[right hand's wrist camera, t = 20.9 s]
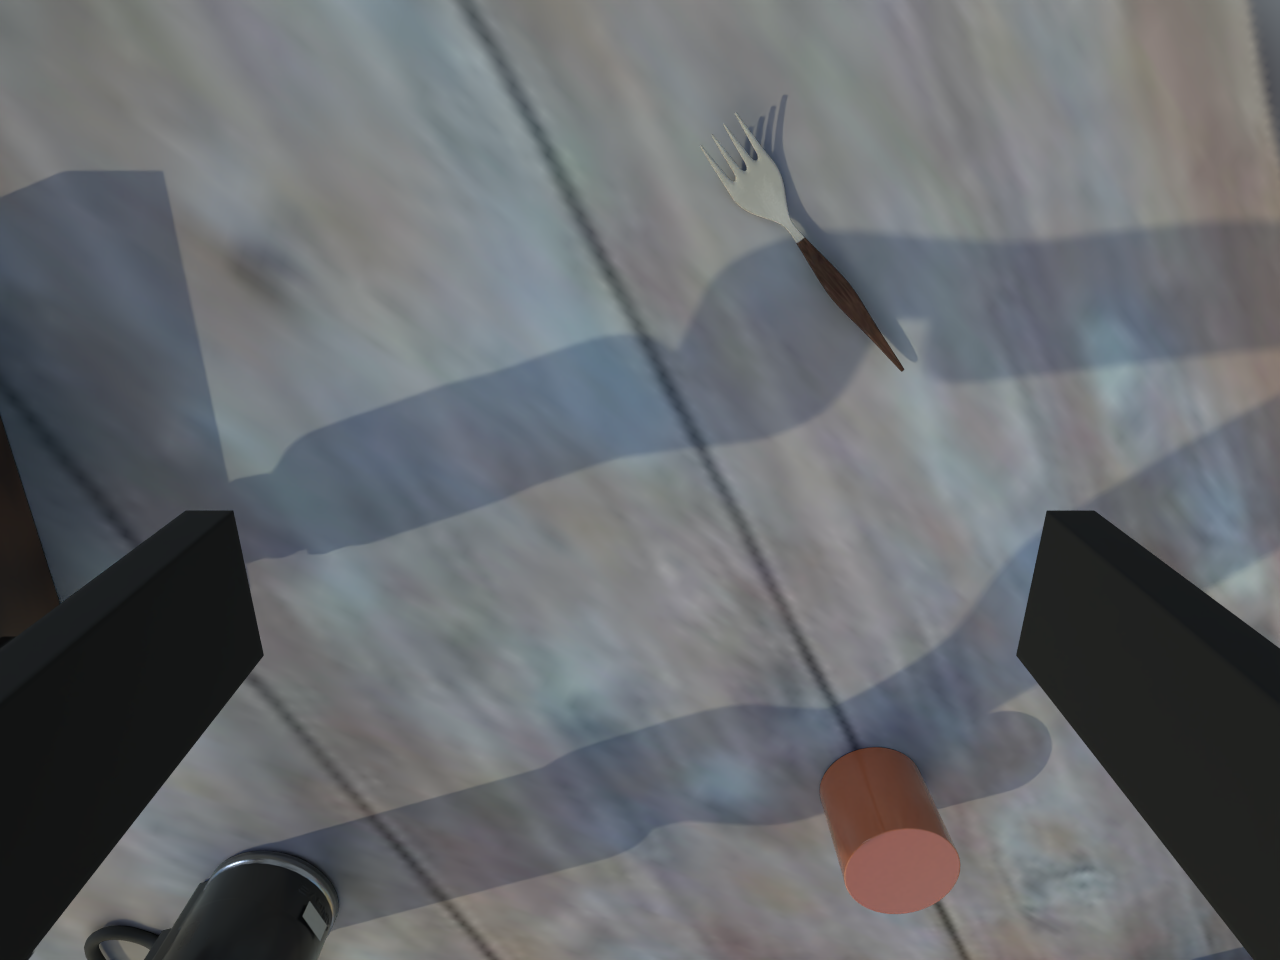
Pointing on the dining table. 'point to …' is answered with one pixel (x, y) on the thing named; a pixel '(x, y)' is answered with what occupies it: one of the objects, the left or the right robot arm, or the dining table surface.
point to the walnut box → (20, 554)
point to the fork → (791, 227)
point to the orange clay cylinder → (887, 832)
